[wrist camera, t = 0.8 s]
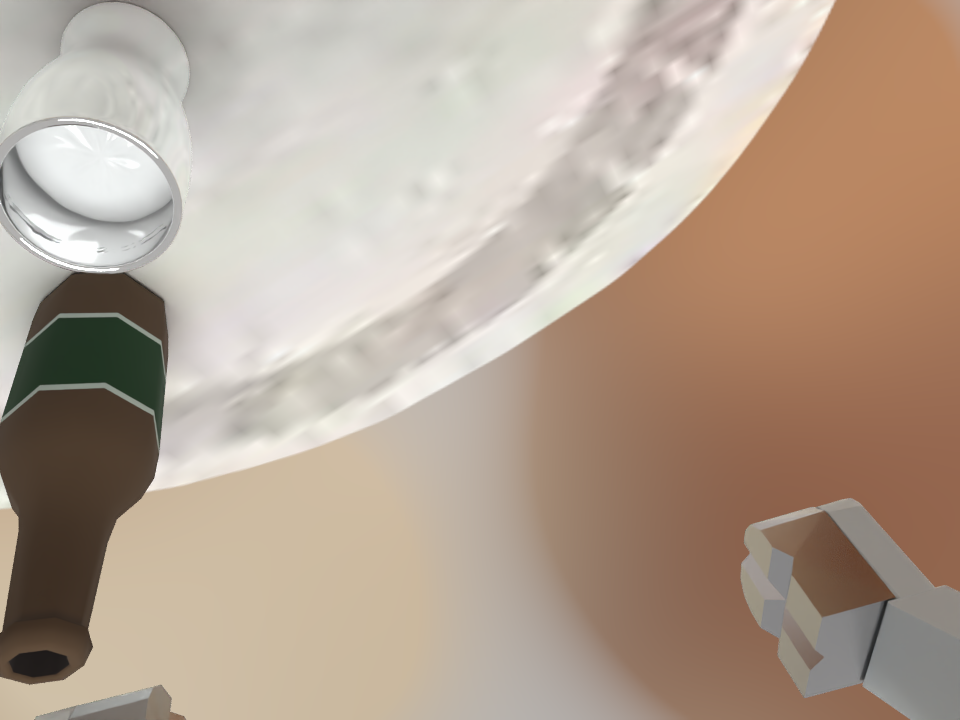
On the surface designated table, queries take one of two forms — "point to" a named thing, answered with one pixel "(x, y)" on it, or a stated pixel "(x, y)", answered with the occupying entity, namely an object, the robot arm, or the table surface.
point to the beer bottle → (76, 459)
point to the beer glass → (100, 145)
